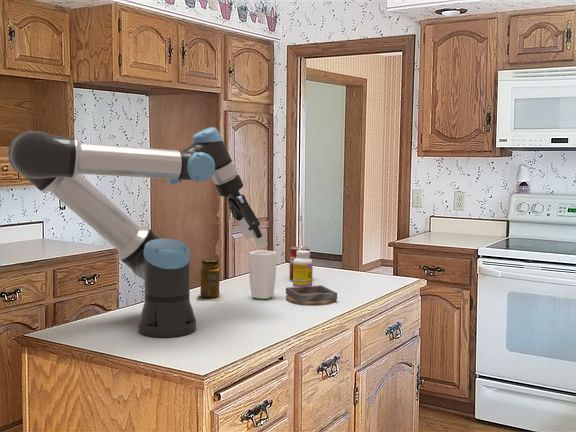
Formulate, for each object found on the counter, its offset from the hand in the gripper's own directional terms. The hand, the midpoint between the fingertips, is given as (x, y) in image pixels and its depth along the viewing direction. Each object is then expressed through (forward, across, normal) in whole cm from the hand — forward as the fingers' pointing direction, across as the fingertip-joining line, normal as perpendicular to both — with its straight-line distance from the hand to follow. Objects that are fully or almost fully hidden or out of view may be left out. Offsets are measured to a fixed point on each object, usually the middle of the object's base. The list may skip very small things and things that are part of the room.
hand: (256, 242), depth 203 cm
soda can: (+32, +34, -15) cm, 49 cm away
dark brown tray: (+27, +4, -9) cm, 29 cm away
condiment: (+14, +17, +19) cm, 29 cm away
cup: (+21, +11, +4) cm, 24 cm away
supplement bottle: (+30, +21, -12) cm, 38 cm away
